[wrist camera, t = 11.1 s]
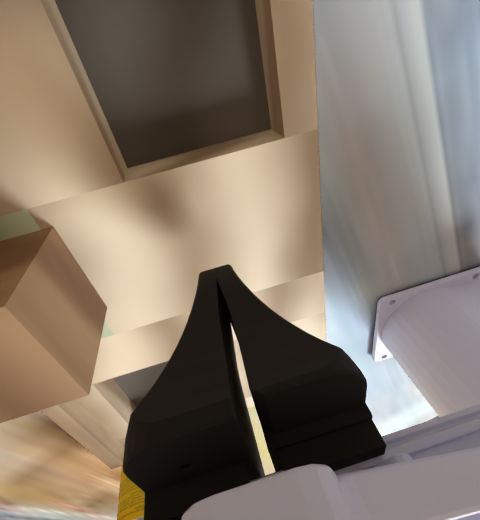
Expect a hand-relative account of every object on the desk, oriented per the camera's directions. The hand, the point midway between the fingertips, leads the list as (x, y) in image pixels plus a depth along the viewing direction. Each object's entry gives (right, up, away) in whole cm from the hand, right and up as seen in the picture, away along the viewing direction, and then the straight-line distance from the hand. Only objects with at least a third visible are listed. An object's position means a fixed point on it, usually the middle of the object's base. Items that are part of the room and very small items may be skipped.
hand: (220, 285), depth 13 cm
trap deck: (-4, 0, +5) cm, 6 cm away
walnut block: (-9, 0, +1) cm, 9 cm away
